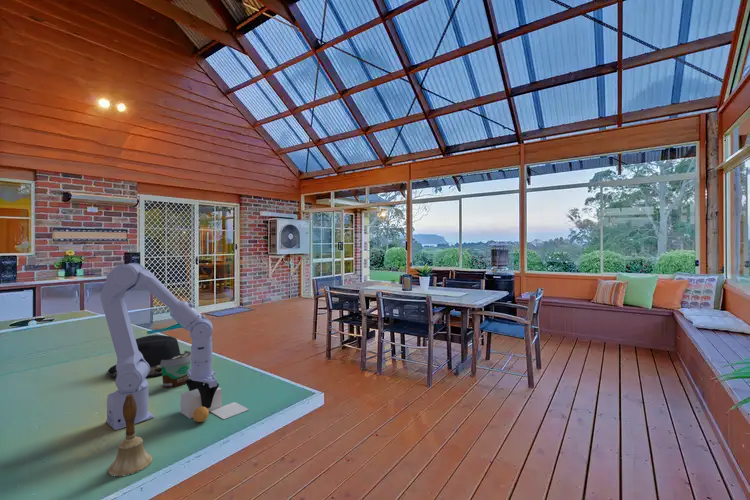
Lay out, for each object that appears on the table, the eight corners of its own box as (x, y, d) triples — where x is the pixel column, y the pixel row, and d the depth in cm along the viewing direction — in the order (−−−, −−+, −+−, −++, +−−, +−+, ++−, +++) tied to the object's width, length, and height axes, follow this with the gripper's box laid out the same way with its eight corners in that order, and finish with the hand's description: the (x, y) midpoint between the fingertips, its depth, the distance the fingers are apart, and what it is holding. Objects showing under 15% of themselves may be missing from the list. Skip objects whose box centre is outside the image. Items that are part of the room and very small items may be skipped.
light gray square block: (223, 419, 102) (223, 419, 102) (209, 411, 107) (209, 410, 107) (249, 410, 108) (249, 409, 108) (234, 402, 113) (234, 401, 113)
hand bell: (128, 480, 76) (128, 404, 76) (98, 473, 78) (98, 399, 78) (161, 458, 84) (161, 389, 83) (133, 452, 86) (133, 385, 86)
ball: (197, 426, 98) (197, 411, 98) (190, 421, 101) (190, 407, 101) (211, 420, 101) (211, 406, 101) (204, 416, 104) (204, 402, 104)
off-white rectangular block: (189, 418, 103) (189, 399, 102) (180, 412, 106) (180, 393, 106) (221, 407, 110) (221, 388, 110) (212, 401, 114) (212, 384, 114)
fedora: (104, 368, 144) (104, 337, 144) (180, 355, 162) (180, 327, 162) (112, 386, 126) (112, 351, 125) (196, 369, 144) (196, 338, 144)
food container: (175, 391, 122) (175, 361, 122) (159, 389, 123) (159, 360, 123) (200, 378, 134) (200, 351, 134) (185, 376, 135) (185, 350, 135)
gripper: (227, 361, 107) (226, 407, 107) (203, 352, 116) (203, 394, 116) (203, 367, 101) (203, 416, 101) (180, 357, 110) (180, 401, 110)
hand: (201, 405), depth 108 cm, fingers closed on off-white rectangular block, 6 cm apart
